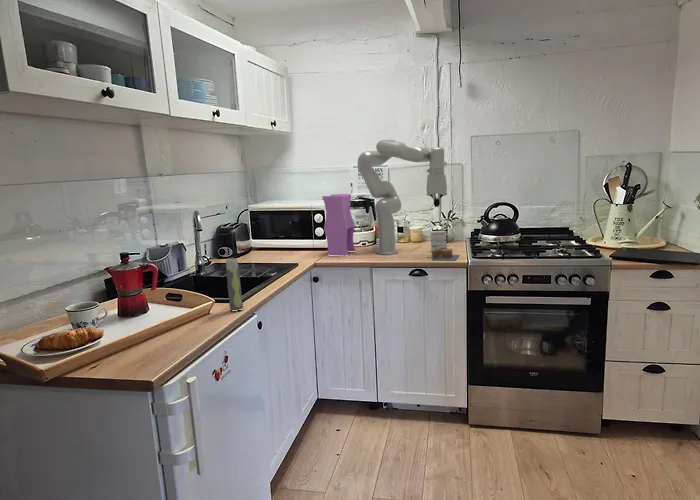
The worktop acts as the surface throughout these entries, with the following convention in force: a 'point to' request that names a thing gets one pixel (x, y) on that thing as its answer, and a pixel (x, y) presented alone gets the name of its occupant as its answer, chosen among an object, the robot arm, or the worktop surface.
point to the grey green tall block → (234, 284)
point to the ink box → (438, 240)
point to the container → (339, 224)
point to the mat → (447, 258)
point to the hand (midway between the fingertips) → (436, 206)
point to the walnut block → (442, 253)
